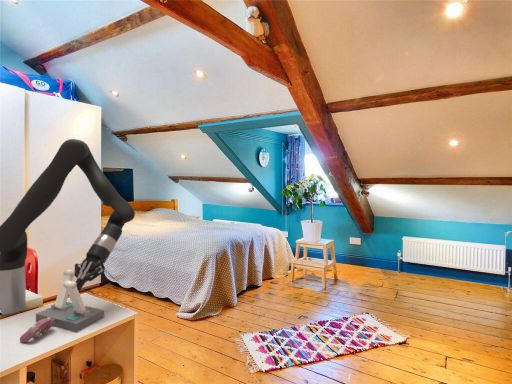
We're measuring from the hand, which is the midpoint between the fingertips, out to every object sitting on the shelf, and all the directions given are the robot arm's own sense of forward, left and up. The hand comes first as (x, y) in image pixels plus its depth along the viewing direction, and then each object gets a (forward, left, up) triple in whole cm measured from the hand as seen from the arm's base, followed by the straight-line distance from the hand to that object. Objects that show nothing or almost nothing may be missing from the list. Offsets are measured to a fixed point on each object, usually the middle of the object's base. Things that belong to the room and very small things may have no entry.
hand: (75, 290), depth 114 cm
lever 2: (0, +2, -9) cm, 9 cm away
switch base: (-6, +2, -13) cm, 14 cm away
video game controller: (-5, -10, -13) cm, 17 cm away
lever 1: (-11, +2, -9) cm, 14 cm away
